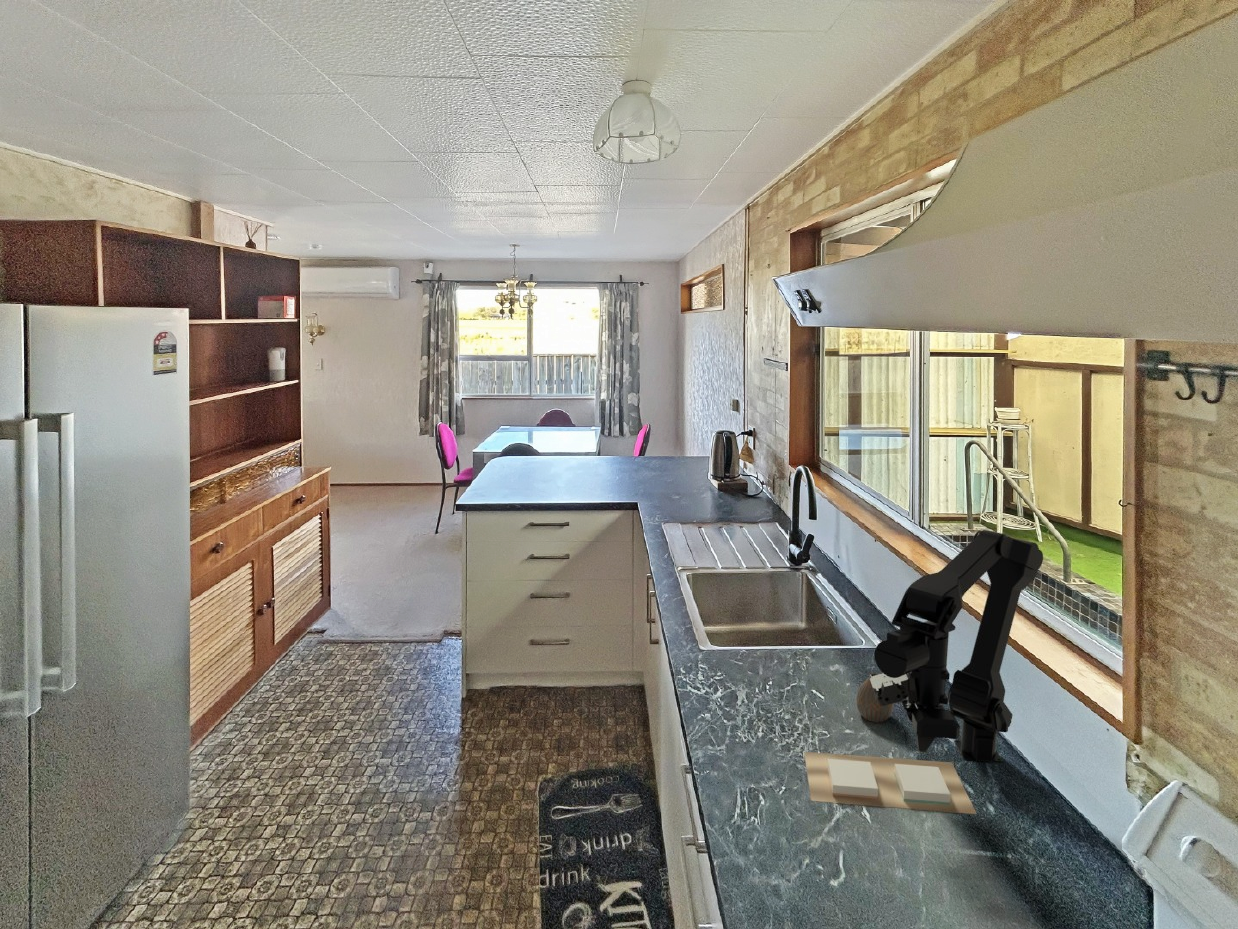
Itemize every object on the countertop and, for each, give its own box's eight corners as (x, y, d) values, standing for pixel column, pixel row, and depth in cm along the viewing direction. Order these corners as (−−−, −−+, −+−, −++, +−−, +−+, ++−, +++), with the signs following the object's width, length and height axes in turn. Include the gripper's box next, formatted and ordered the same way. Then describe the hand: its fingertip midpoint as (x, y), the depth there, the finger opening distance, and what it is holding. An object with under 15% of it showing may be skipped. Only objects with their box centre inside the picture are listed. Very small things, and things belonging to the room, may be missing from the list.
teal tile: (894, 763, 134) (904, 790, 126) (938, 767, 133) (950, 794, 125) (894, 773, 134) (903, 801, 126) (937, 777, 133) (949, 804, 125)
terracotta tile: (827, 759, 135) (832, 785, 127) (870, 762, 134) (878, 788, 126) (827, 768, 136) (832, 795, 128) (869, 771, 134) (877, 799, 127)
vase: (868, 729, 150) (870, 685, 148) (848, 712, 156) (850, 670, 155) (900, 724, 151) (902, 681, 150) (880, 708, 158) (882, 666, 157)
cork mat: (804, 754, 141) (804, 751, 141) (951, 764, 137) (951, 762, 137) (811, 803, 126) (811, 800, 126) (976, 816, 123) (976, 814, 123)
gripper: (866, 636, 137) (862, 720, 140) (885, 683, 119) (880, 778, 122) (933, 639, 135) (928, 724, 138) (963, 687, 117) (956, 784, 120)
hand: (921, 750), depth 129 cm, fingers closed
